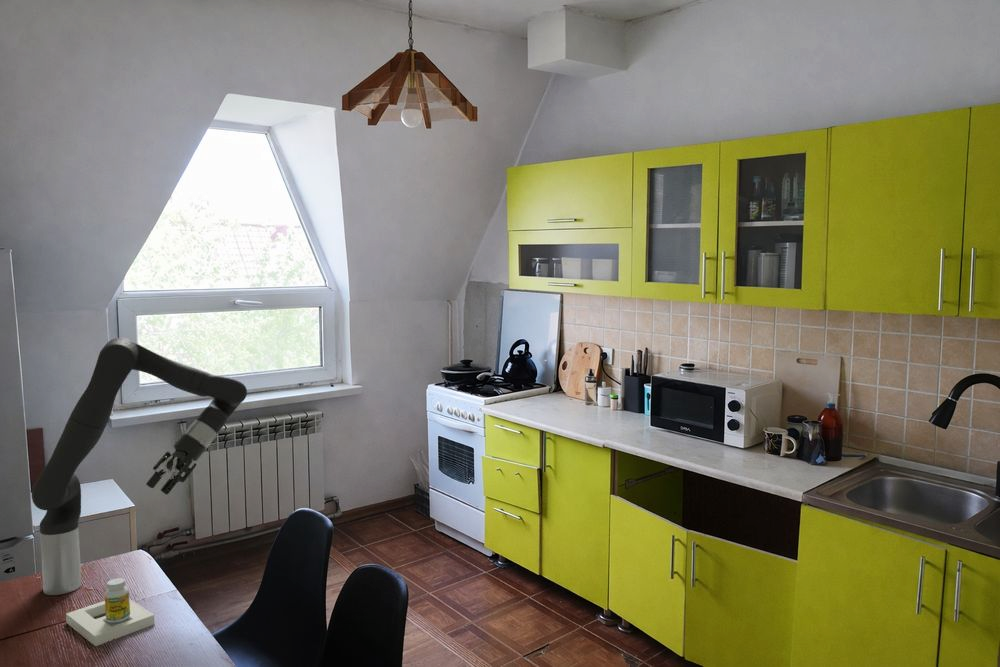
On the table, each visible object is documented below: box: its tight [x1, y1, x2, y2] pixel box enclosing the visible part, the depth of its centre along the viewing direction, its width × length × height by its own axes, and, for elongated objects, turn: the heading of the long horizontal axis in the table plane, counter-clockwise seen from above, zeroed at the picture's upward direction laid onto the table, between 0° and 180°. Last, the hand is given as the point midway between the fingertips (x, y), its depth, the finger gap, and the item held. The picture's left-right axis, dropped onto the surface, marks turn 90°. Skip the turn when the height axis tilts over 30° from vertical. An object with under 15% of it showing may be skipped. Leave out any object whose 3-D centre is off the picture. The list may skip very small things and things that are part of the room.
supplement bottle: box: [104, 577, 130, 623], centre depth 179 cm, size 5×5×10 cm
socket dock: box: [65, 598, 156, 647], centre depth 182 cm, size 18×14×3 cm
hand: (156, 489), depth 193 cm, fingers open, 8 cm apart
